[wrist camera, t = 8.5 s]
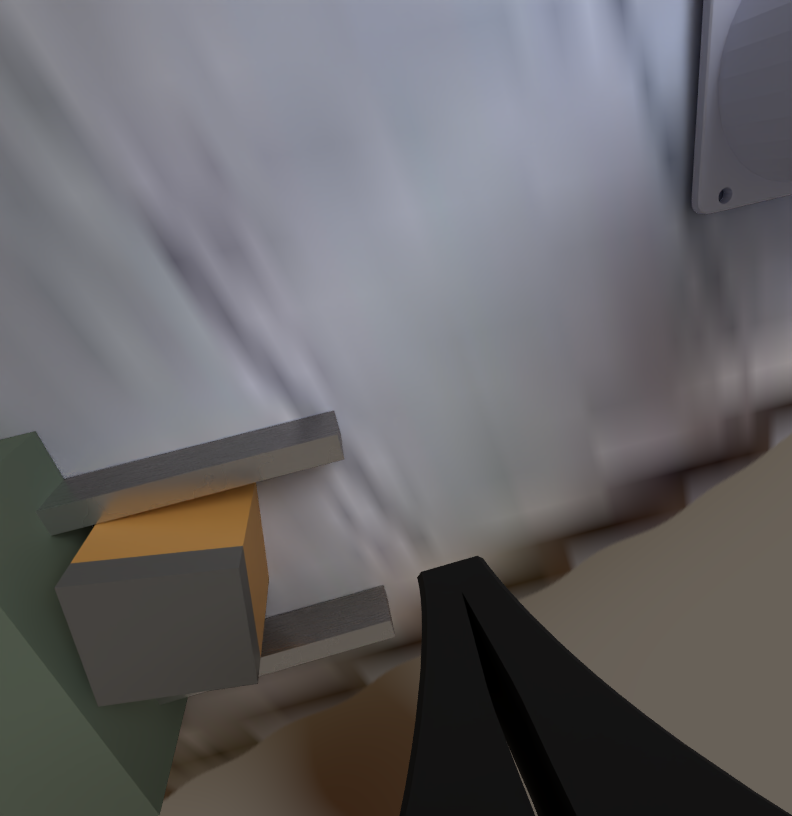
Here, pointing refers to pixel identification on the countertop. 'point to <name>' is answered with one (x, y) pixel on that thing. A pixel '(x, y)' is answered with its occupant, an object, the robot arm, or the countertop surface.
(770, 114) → the robot arm
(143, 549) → the orange-topped grey cube
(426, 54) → the countertop surface
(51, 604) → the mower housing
